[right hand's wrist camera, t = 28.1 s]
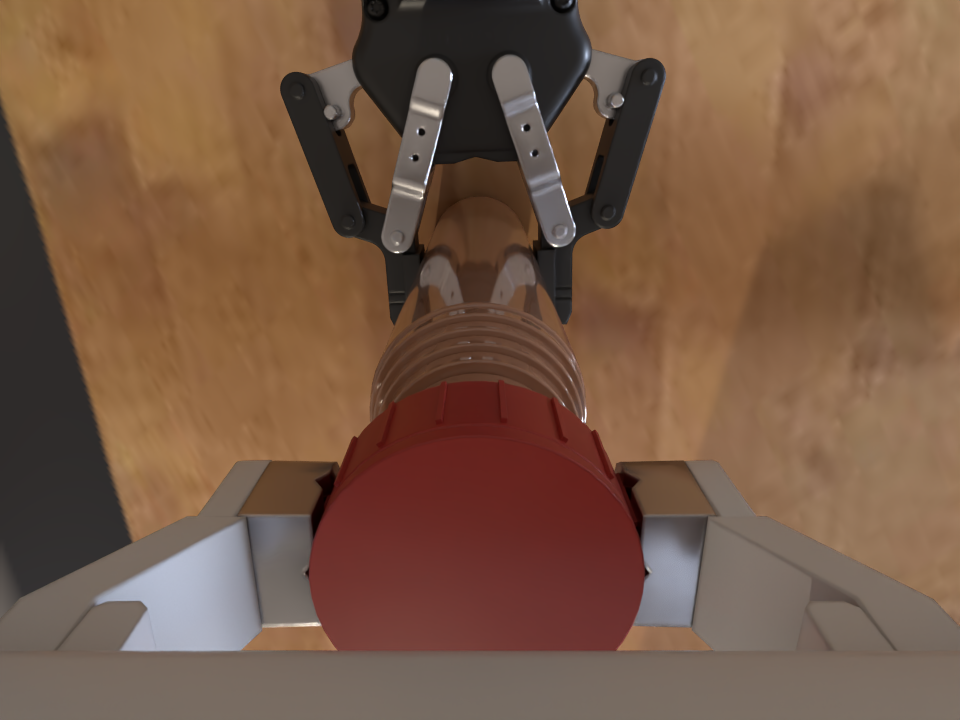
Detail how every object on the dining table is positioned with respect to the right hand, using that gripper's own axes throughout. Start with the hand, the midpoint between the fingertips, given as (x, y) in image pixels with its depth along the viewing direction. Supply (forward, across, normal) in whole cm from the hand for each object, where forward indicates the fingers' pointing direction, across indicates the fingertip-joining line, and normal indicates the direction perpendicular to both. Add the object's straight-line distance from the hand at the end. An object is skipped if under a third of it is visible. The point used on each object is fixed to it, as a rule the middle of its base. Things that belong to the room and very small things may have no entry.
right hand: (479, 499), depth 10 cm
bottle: (+23, 0, 0) cm, 23 cm away
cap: (-2, 0, 0) cm, 2 cm away
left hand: (+17, 0, -3) cm, 17 cm away
